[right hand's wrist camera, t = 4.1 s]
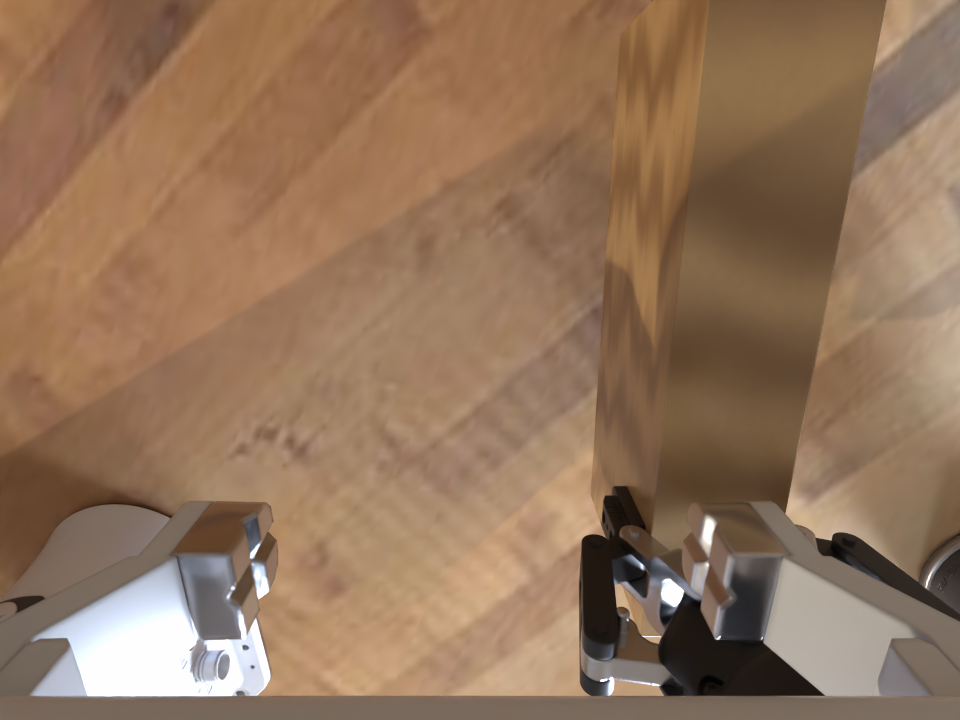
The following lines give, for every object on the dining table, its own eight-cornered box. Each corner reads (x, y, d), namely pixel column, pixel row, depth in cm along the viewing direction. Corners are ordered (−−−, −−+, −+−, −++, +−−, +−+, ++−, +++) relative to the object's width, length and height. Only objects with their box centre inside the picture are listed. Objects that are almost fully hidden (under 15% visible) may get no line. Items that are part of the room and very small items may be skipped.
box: (620, 33, 28) (715, -67, 17) (729, 32, 28) (901, -69, 17) (590, 495, 37) (639, 637, 25) (674, 494, 37) (761, 636, 25)
